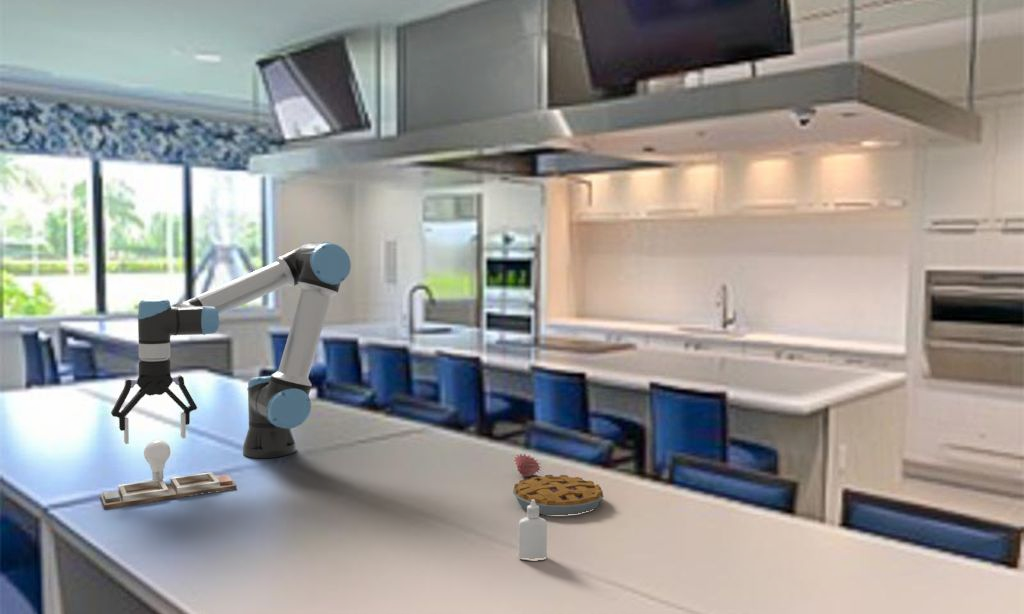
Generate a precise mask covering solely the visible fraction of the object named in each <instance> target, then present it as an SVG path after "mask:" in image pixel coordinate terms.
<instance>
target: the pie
mask: <svg viewBox="0 0 1024 614" xmlns="http://www.w3.org/2000/svg"><path fill="white" fill-rule="evenodd" d="M512 494H513V496H515V498H516V500H517V501H518V504H519V505H520V506H521V507H522V508H523V509H524V510H525V509H526V510H525V511H527V506H528V505H530V504H531V500H532V499H534V500H535V503H536V505H537V506H539V514H543V515H542V516H544V515H568V514H578V513H582V512H586V511H590V510H592V509H594V508H595V507H597V508H598V506H599V503H600V501H601V500H602V499H603V498H604V491H603V490H602V488H601V486H600V484H595V483H594V481H593V480H585V479H584V478H582V477H580V476H579V477H578V476H575V477H570V476H569V475H567V474H560V475H558V476H557V475H556V476H554V475H552V474H545V475H544V476H540V477H539V476H530V478H529V479H525V478H524V479H519V481H518V483H515V484H514V487H513V489H512ZM594 510H595V509H594ZM592 511H593V510H592Z"/></svg>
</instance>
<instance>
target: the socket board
mask: <svg viewBox="0 0 1024 614" xmlns="http://www.w3.org/2000/svg"><path fill="white" fill-rule="evenodd" d="M117 487H118V490H110V491H104V492H102V493H100V501H101V500H102V501H101V504H102V507H103V506H104V507H103V508H104V510H108V509H109V508H110V509H115V508H123V507H129V505H130V506H135V504H136V505H142V504H149V503H154V502H153V501H156V502H160V501H159V500H162V501H166V500H165V499H169V500H172V499H171V498H175V499H179V498H178V497H182V498H185V497H184V496H189V497H191V496H190V495H195V496H197V495H196V494H201V493H208V492H215V493H217V492H216V491H221V492H224V491H223V490H228V491H230V490H229V489H234V490H237V485H236V483H235V482H234V481H233V479H232V478H231V477H230V476H229V475H228V474H222V475H217V476H216V475H215V474H214V473H213V472H212V471H211V472H203V473H195V474H190V475H181V476H174V477H170V483H165V481H164V479H163V480H162V479H159V480H152V479H151V480H147V481H146V480H145V481H138V482H132V483H125V484H124V483H123V484H118V486H117ZM208 494H209V493H208ZM148 502H149V503H148ZM122 506H123V507H122Z"/></svg>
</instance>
